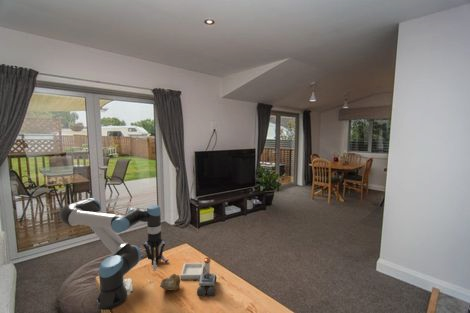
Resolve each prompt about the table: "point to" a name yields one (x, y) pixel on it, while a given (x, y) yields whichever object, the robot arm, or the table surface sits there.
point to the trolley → (203, 282)
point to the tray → (192, 271)
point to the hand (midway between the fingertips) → (155, 269)
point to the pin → (207, 268)
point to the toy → (161, 257)
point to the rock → (171, 282)
